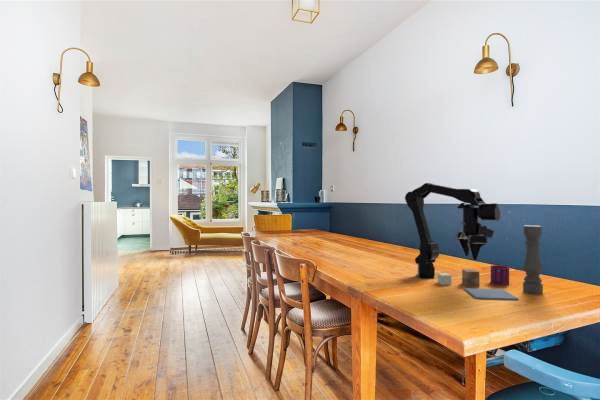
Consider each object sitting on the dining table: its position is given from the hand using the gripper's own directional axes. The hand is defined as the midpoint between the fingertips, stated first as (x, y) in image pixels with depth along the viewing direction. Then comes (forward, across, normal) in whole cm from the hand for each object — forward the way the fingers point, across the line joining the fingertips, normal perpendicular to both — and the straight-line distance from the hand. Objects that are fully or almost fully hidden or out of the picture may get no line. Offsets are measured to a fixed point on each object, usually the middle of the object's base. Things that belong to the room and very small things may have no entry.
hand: (470, 257), depth 139 cm
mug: (+11, +3, -12) cm, 17 cm away
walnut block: (+11, 0, 0) cm, 11 cm away
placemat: (+11, -14, -2) cm, 18 cm away
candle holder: (+11, -9, -19) cm, 24 cm away
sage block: (+11, +1, +10) cm, 15 cm away
